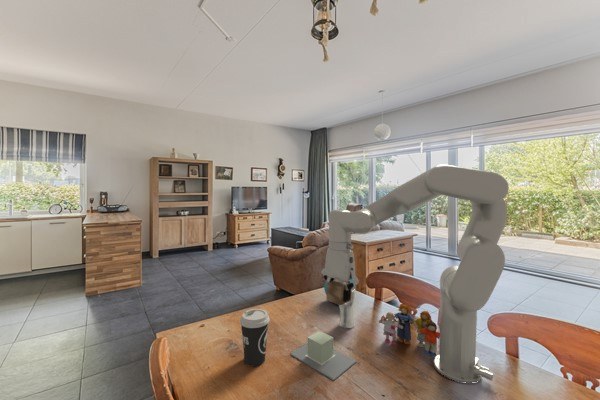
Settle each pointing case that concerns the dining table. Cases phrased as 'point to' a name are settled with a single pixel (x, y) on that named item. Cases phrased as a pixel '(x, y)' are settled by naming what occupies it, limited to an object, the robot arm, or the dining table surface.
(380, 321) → the doll family
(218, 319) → the dining table surface
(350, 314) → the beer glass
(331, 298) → the walnut block
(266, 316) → the coffee cup
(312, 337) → the sage block
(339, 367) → the felt mat
